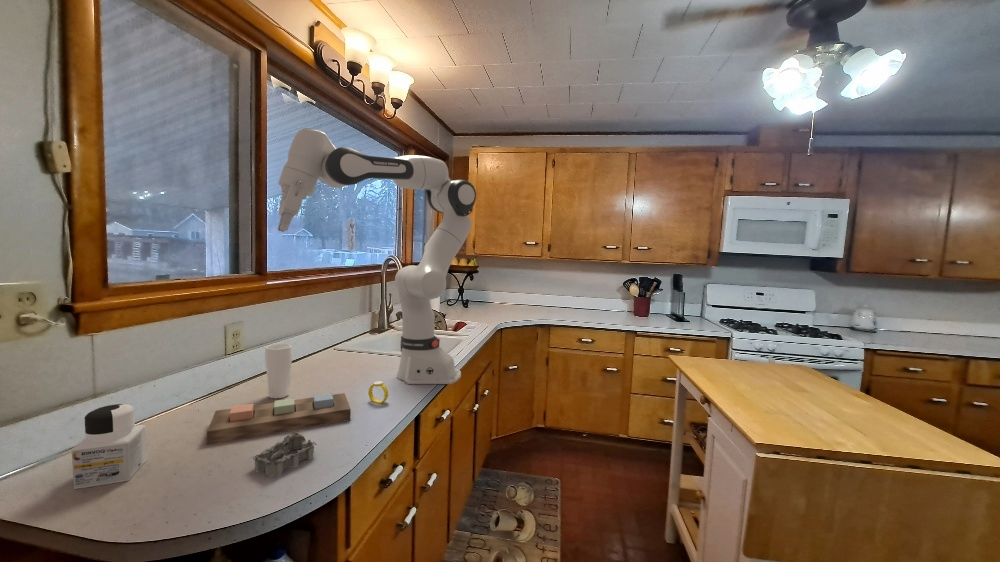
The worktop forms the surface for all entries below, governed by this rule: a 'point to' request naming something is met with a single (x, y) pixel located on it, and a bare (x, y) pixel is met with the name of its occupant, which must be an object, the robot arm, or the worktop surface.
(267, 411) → the button panel
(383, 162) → the robot arm
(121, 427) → the container
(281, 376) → the drinking glass
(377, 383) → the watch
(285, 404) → the sage button
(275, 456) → the egg carton
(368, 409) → the worktop surface
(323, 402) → the slate button
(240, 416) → the terracotta button
